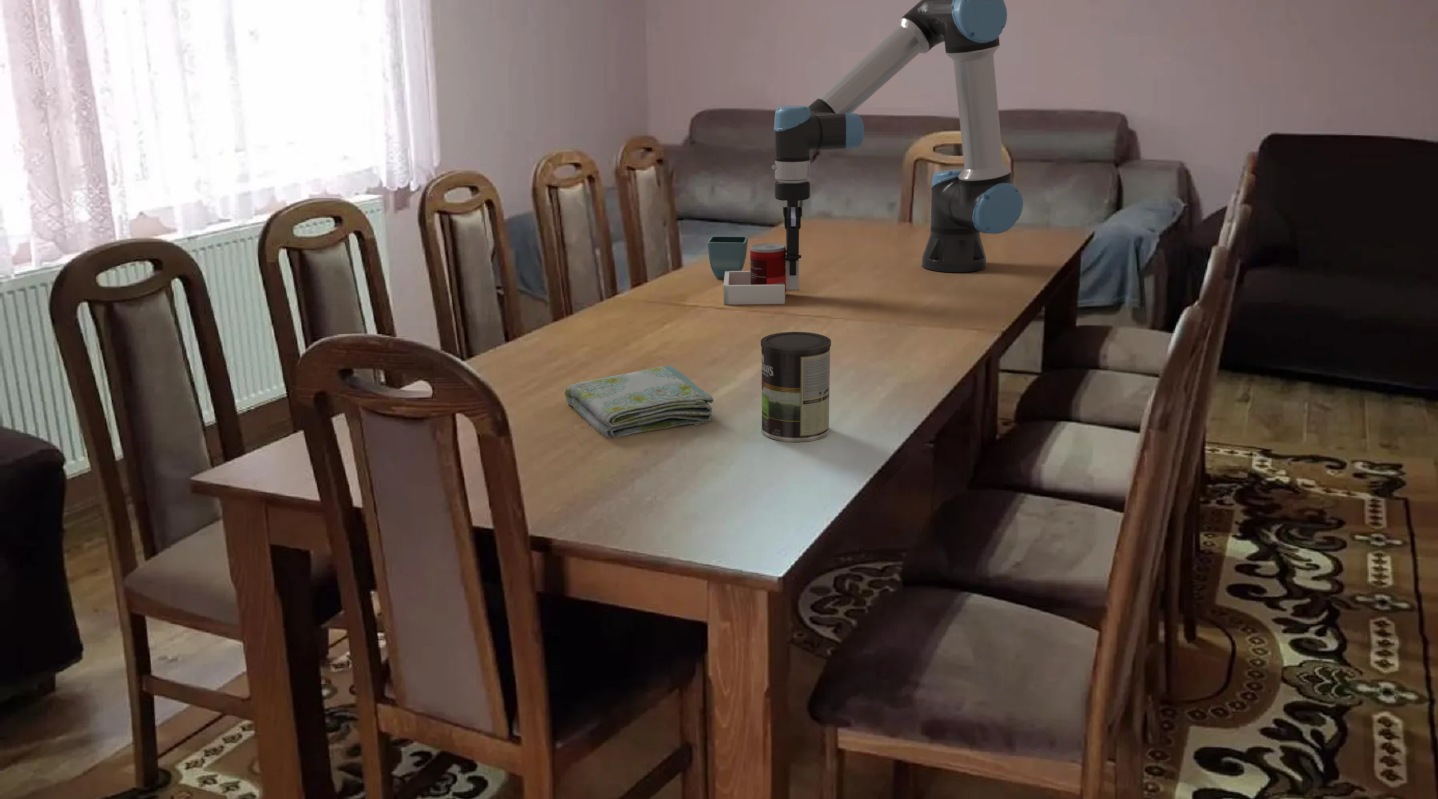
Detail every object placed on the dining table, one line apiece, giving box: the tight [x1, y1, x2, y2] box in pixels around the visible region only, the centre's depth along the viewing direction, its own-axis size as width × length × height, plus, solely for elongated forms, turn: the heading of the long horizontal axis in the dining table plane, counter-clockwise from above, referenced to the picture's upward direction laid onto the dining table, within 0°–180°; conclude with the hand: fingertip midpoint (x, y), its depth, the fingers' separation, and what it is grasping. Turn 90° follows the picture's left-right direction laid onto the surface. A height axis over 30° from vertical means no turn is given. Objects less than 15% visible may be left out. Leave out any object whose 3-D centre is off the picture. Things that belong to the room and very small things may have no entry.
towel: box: [564, 365, 714, 439], centre depth 200 cm, size 18×21×5 cm
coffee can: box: [760, 331, 832, 443], centre depth 188 cm, size 10×10×14 cm
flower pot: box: [706, 235, 749, 279], centre depth 298 cm, size 9×9×9 cm
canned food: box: [749, 242, 787, 294], centre depth 278 cm, size 8×8×11 cm
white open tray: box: [723, 270, 786, 306], centre depth 279 cm, size 13×16×4 cm
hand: (792, 289), depth 279 cm, fingers closed
